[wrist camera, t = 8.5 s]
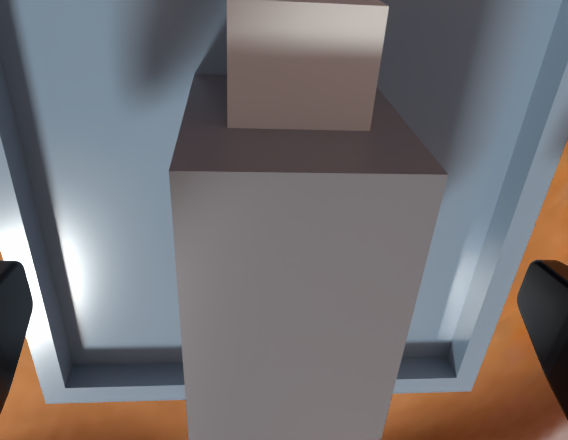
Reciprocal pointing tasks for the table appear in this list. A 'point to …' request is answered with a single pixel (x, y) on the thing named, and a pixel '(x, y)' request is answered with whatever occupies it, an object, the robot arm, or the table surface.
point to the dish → (160, 147)
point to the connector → (298, 227)
